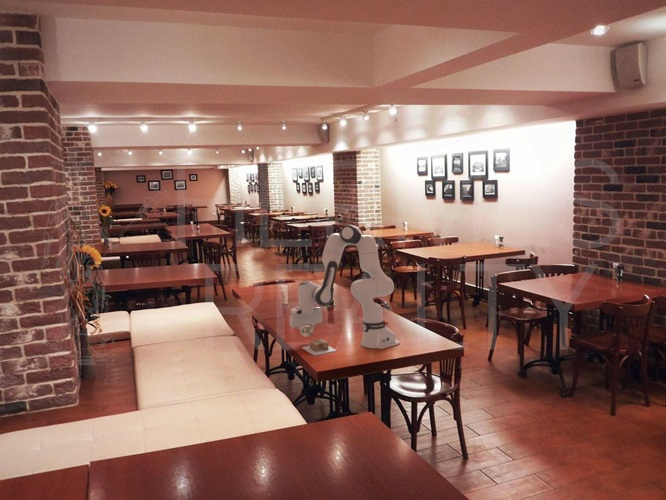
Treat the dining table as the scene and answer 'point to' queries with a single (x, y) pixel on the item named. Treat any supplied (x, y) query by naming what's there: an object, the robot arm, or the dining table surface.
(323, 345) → the walnut base
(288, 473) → the dining table surface
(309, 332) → the ash cube
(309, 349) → the white flat slab
